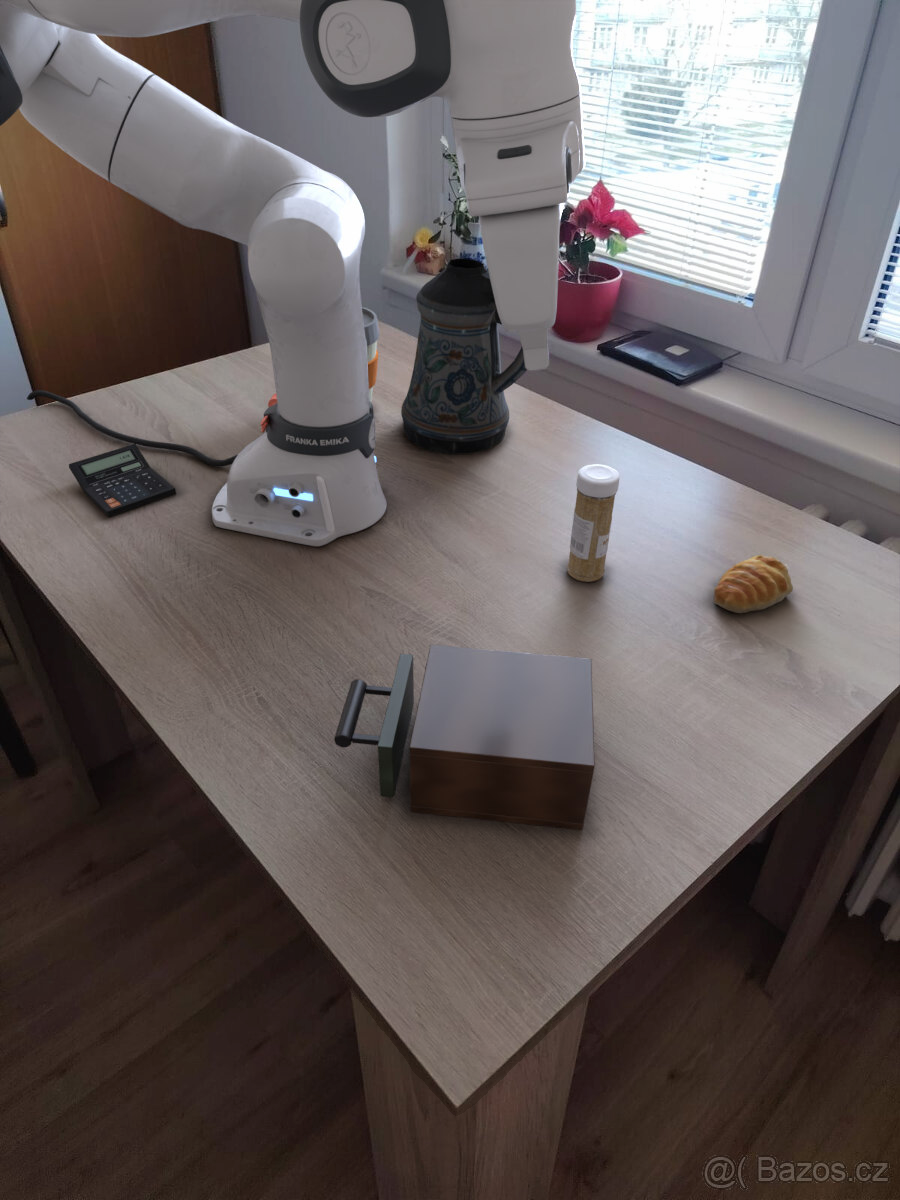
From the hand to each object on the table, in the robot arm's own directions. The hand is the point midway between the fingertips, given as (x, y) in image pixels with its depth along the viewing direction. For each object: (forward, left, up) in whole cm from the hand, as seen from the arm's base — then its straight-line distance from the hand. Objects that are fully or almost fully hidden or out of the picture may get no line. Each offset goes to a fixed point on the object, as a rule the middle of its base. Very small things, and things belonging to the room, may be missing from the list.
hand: (539, 341), depth 66 cm
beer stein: (-10, +51, -34) cm, 62 cm away
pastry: (+27, +14, -34) cm, 45 cm away
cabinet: (0, -15, -33) cm, 37 cm away
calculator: (-54, +27, -34) cm, 69 cm away
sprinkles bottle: (+8, +16, -34) cm, 38 cm away
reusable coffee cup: (-30, +55, -34) cm, 71 cm away
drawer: (-6, -15, -33) cm, 36 cm away
